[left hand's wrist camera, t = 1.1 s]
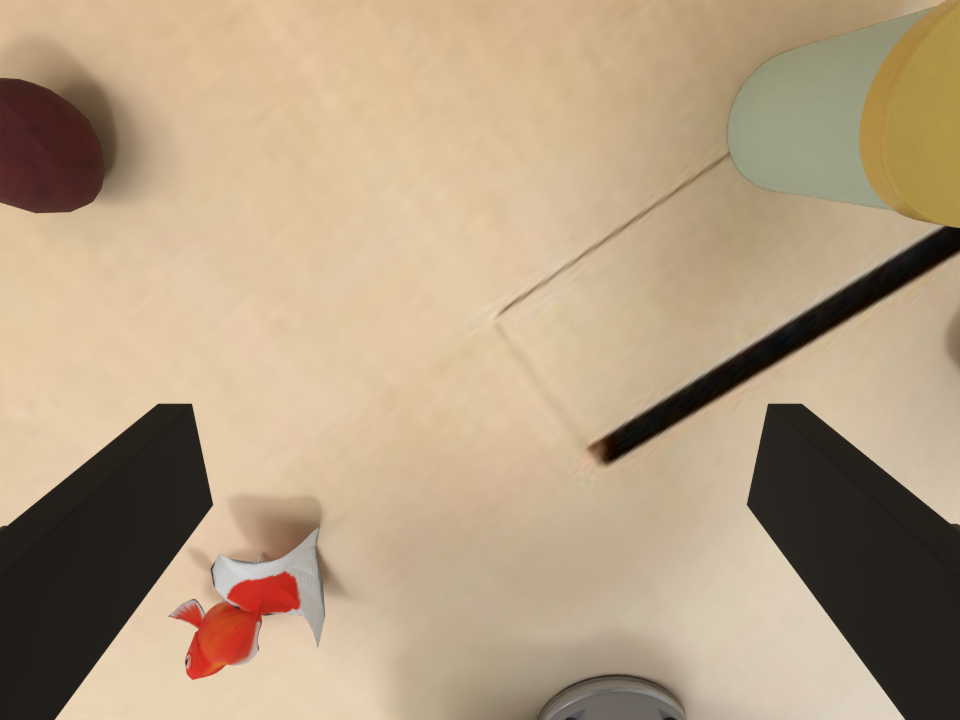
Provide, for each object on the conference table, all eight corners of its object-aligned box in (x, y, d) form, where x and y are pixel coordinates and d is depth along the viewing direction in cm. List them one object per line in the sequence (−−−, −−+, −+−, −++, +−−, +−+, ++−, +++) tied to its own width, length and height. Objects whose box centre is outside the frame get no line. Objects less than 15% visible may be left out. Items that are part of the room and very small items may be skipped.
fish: (111, 593, 44) (115, 699, 37) (276, 466, 48) (311, 539, 40) (203, 644, 51) (222, 743, 43) (342, 529, 54) (382, 602, 47)
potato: (63, 60, 35) (-35, 40, 28) (154, 169, 37) (84, 175, 30) (-14, 130, 36) (-124, 127, 29) (78, 231, 38) (-5, 249, 32)
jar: (739, 46, 34) (921, -21, 20) (877, 48, 34) (1154, -18, 20) (716, 190, 38) (860, 219, 23) (843, 192, 38) (1062, 221, 23)
